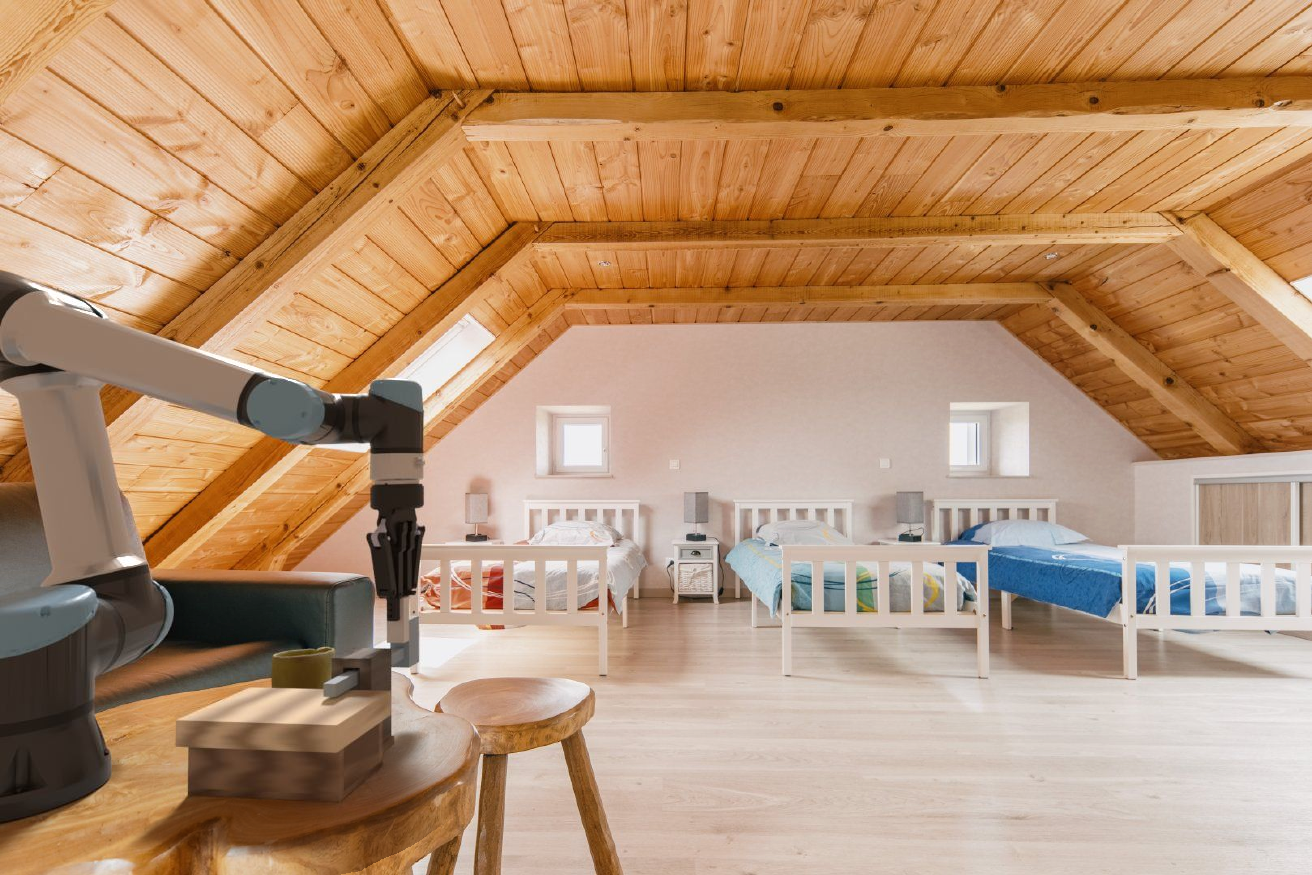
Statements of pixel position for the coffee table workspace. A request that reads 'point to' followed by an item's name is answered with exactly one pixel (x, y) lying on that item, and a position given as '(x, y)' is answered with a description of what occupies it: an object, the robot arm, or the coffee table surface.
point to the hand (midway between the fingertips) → (398, 641)
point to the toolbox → (301, 753)
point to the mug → (302, 668)
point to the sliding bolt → (400, 657)
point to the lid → (284, 720)
